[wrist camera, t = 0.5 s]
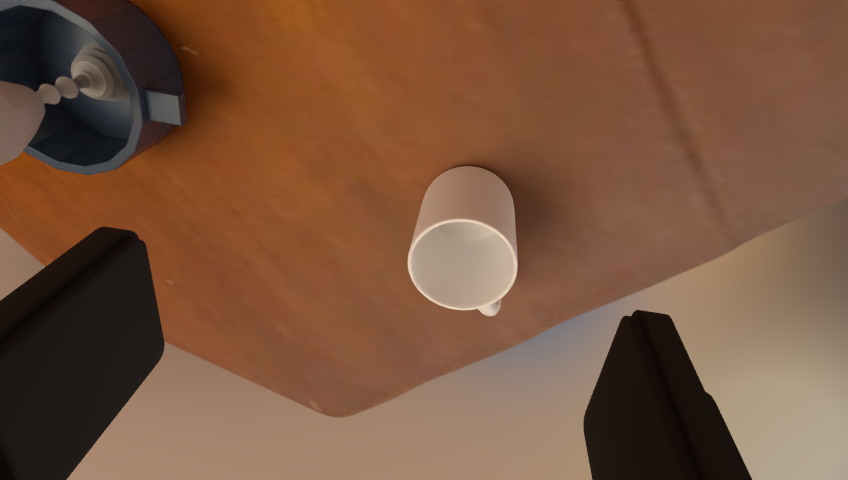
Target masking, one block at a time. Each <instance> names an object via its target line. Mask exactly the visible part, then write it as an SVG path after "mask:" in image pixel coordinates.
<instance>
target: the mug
mask: <svg viewBox="0 0 848 480" xmlns="http://www.w3.org/2000/svg"><path fill="white" fill-rule="evenodd" d="M408 269H409V274H410V276H411V279H412V281H413V283H414V284H415V286H416V287H417V289H418V290H419V291H420V292H421V293H422V294H423V295H424V296H425V297H427V298H428V299H429V300H431V301H433V302H434V303H436V304H438V305H441V306H443V307H446V308H450V309H456V310H474V309H478V310H479V311H480V312H481V313H483V314H484V315H486V316H494V315H496V314H497V312H498V311H499V309H500V304H501V298H502V297H503V296H504V295H505V294H506V293H507V292H508V291H509V289H510V288H511V287H512V285H513V283H514V281H515V278H516V275H517V269H518V261H517V245H516V229H515V212H514V203H513V199H512V196H511V193H510V191H509V189H508V188H507V186H506V184H505V183H504V182H503V181H502V180H501V179H500V178H499V177H498V176H497V175H495V174H494V173H492V172H490V171H488V170H486V169H483V168H479V167H473V166H462V167H456V168H452V169H450V170H447V171H446V172H444V173H442V174H441V175H439V176H438V177H437V178H436V179H435V180H434V181H433V182H432V183H431V184H430V186H429V187H428V189H427V191H426V193H425V196H424V198H423V202H422V205H421V209H420V213H419V217H418V220H417V224H416V228H415V232H414V236H413V239H412V243H411V247H410V251H409V255H408Z"/></svg>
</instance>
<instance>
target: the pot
mask: <svg viewBox="0 0 848 480" xmlns="http://www.w3.org/2000/svg"><path fill="white" fill-rule="evenodd" d="M94 42H97V43H98V44H99V45H100V46H101V47H102V48H103V49H104V50H105V51H106V53H107V54H108V55H109V56H110V57H111V58H112V60H113V61H114V63H115V65H116V67H117V69H118V71H119V73H120V75H121V77H122V79H123V81H124V83H125V84H126V86H127V88H128V90H129V97H128V98H126V99H124V100H123V101H116V102H113V101H108V100H107V101H105V100H98V99H93V98H91V97H89V96H87V95H85V94H84V93H83V92H81V91H80V90H78V95H77V96H76V97H75V98H71V99H70V98H66V97H64V96H62V97H61V98H60V101H59V103H57V104H49V103H44V107H45V114H44V117H43V119H42V121H41V124H40V126H39V128H38V130H37V132H36V134H35V136H34V137H33V138H32V140H31V141H30V142H29V144H28V145H27V146H26V147H25V149H24V150H23V151H24V152H26V153H27V154H29V155H31V156H33V157H35V158H37V159H39V160H40V161H42V162H44V163H46V164H48V165H50V166H52V167H54V168H56V169H59V170H64V171H69V172H75V173H80V174H85V175H93V174H97V173H102V172H106V171H111V170H115V169H117V168H119V167H120V166H122V165H124V164H125V163H127V162H128V161H130V160H131V159H133V158H134V157H136V156H137V155H139V154H141V153H142V152H144V151H145V150H147V149H148V148H150V147H151V146H153V145H155V144H156V143H158V142H159V141H160V140H161V139H162V138H163V137H164V136H166V135H167V134H168V133H169V132H170V131H171V130H172V129H173V128H174V127H175V125H179V126H182V125H183V124H185V123H186V122H187V114H186V104H185V93H184V85H183V79H182V74H181V70H180V67H179V63H178V61H177V58H176V56H175V54H174V52H173V50H172V48H171V46H170V44H169V42H168V41H167V39H166V38H165V36H164V35H163V33H162V32H161V31H160V30H159V28H158V27H157V26H156V25H155V23H154V22H153V21H152V20H151V19H150V18H149V17H148V16H147V15H146V14H145V13H143V12H142V11H141V10H140V9H139V8H137V7H136V6H135V5H133V4H132V3H130V2H129V1H127V0H0V81H4V82H9V83H14V84H19V85H24V86H26V87H28V88H30V89H32V90H33V91H34V92H36V91H38V90H39V87H40V86H41V85H42V84H50V85H53V86H55V85H56V84H55V83H56V80H57V78H59V77H62V76H64V77H68V78H70V79H72V75H71V64H72V62H73V60H74V59H75V58H76V56H77V55H78V53H79V52H80V50H81V48H82V47H83V46H85V45H87V44H88V43H94Z"/></svg>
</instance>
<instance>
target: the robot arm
mask: <svg viewBox="0 0 848 480" xmlns="http://www.w3.org/2000/svg"><path fill="white" fill-rule="evenodd" d="M163 351H164V338H163V333H162V328H161V322H160V317H159V312H158V306H157V301H156V296H155V291H154V285H153V280H152V275H151V269H150V264H149V259H148V254H147V248H146V245H145V243H144V241H142V240H139V238H138V236H137V234H136V233H135V232H133V231H129V230H123V229H117V228H110V227H100V228H98V229H96V230H95V231H94V232H92V233H91V234H89V235H88V236H87V237H85V238H84V239H83V240H81V241H80V242H79V243H77V244H76V245H75V246H73V247H72V248H71V249H69V250H68V251H67V252H65V253H64V254H63V255H61V256H60V257H59V258H57V259H56V260H55V261H53V262H52V263H50V264H49V265H48V266H46V267H45V268H44V269H42V270H41V271H40V272H38V273H37V274H36V275H34V276H33V277H32V278H30V279H29V280H28V281H27V282H25V283H24V284H22V285H21V286H20V287H18V288H17V289H15V290H14V291H13V292H11V293H10V294H9V295H7V296H6V297H5V298H3V299H2V300H1V301H0V480H66V479H67V478H68V477H69V476H70V474H71V473H72V472H73V470H74V469H75V468H76V467H77V465H78V464H79V463H80V462H81V460H82V459H83V458H84V456H85V455H86V454H87V452H88V451H89V450H90V449H91V448H92V446H93V445H94V444H95V442H96V441H97V440H98V439H99V437H100V436H101V435H102V433H103V432H104V431H105V430H106V428H107V427H108V426H109V424H110V423H111V422H112V421H113V419H114V418H115V417H116V416H117V414H118V413H119V412H120V410H121V409H122V407H124V405H125V404H126V403H127V402H128V400H129V399H130V398H131V396H132V395H133V394H134V393H135V391H136V390H137V389H138V387H139V386H140V385H141V384H142V382H143V381H144V380H145V379H146V377H147V376H148V375H149V373H150V372H151V371H152V370H153V368H154V367H155V366H156V364H157V363H158V362H159V360H160V359H161V357H162V354H163ZM584 435H585V440H586V446H587V452H588V457H589V463H590V468H591V474H592V479H593V480H752V478H751V476H750V474H749V472H748V470H747V468H746V466H745V464H744V462H743V459H742V457H741V455H740V453H739V451H738V449H737V447H736V445H735V442H734V440H733V438H732V436H731V434H730V432H729V430H728V428H727V426H726V423H725V422H724V419H723V417H722V415H721V413H720V411H719V409H718V407H717V405H716V402H715V401H714V400H713V398H712V396H711V395H709V394H708V393H707V392H705V390H704V388H703V386H702V384H701V382H700V380H699V377H698V375H697V373H696V371H695V369H694V367H693V364H692V362H691V360H690V358H689V356H688V353H687V351H686V349H685V347H684V345H683V343H682V341H681V338H680V336H679V334H678V332H677V330H676V328H675V325H674V323H673V321H672V319H671V318H670V316H669V315H666V314H660V313H654V312H648V311H641V310H636V311H635V312H634V313H633V314H632V316H631V317H630V316H624V317H623V318H622V320H621V322H620V324H619V326H618V329H617V332H616V334H615V337H614V339H613V342H612V345H611V348H610V350H609V352H608V355H607V358H606V360H605V363H604V365H603V368H602V371H601V373H600V376H599V378H598V381H597V383H596V386H595V389H594V391H593V394H592V396H591V399H590V402H589V404H588V407H587V409H586V413H585V416H584Z"/></svg>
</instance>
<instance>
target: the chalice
mask: <svg viewBox="0 0 848 480" xmlns="http://www.w3.org/2000/svg"><path fill="white" fill-rule="evenodd" d="M71 75H72V79H70V78H68V77H64V76H62V77H59V78H57V80H56V83H55V84H56V85H55V86H53V85H50V84H42V85H41V86H40V87H39V90H38V91H36V92H34V91H33V90H32V89H30V88H28V87H26V86H24V85H19V84H14V83H9V82H4V81H0V166H1V165H3V164H5V163H7V162H9V161H11V160H13V159H15V158H17V157H18V156H19V155H20V154H21V152H22V151H23V150H24V149H25V147H26V146H27V145H28V144H29V142H30V141H31V140H32V138H33V137H34V136H35V134H36V132H37V130H38V128H39V126H40V124H41V121H42V119H43V117H44V114H45V107H44V103H49V104H57V103H59V101H60V98H61V97H62V96H64V97H66V98H70V99H71V98H75V97H76V96H77V95H78V90H80V91H81V92H83V93H84V94H85V95H87V96H89V97H91V98H93V99H98V100H105V101H107V100H108V101H113V102H116V101H123V100H124V99H126V98H128V97H129V90H128V88H127V86H126V84H125V83H124V81H123V79H122V77H121V75H120V73H119V71H118V69H117V67H116V65H115V63H114V61H113V60H112V58H111V57H110V56H109V55H108V54H107V53H106V51H105V50H104V49H103V48H102V47H101V46H100V45H99V44H98V43H97V42H94V43H88V44H87V45H85V46H83V47H82V48H81V50H80V52H79V53H78V55H77V56H76V58H75V59H74V60H73V62H72V64H71Z"/></svg>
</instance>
